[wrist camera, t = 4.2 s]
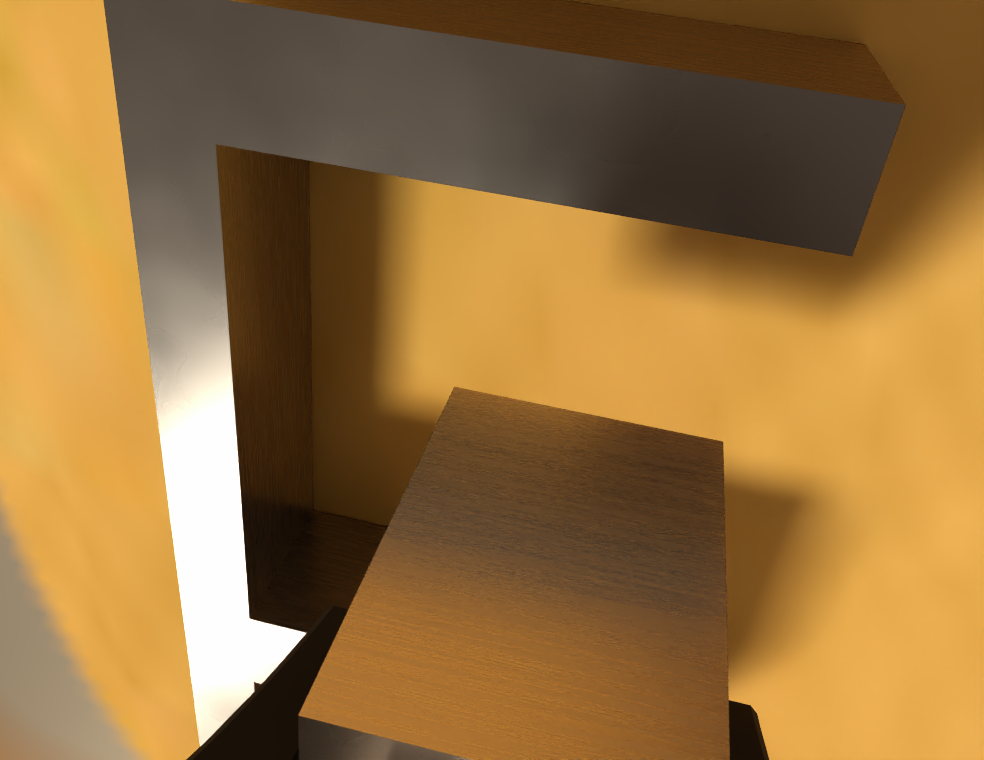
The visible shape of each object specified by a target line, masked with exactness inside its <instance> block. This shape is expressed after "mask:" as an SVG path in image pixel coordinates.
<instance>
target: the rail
mask: <svg viewBox="0 0 984 760" xmlns="http://www.w3.org/2000/svg"><path fill="white" fill-rule="evenodd" d="M104 7H105V15H106V23H107V30H108V38H109V46H110V54H111V61H112V69H113V77H114V85H115V92H116V100H117V108H118V116H119V123H120V131H121V139H122V146H123V154H124V162H125V170H126V177H127V185H128V193H129V201H130V208H131V216H132V224H133V232H134V239H135V247H136V255H137V263H138V270H139V278H140V286H141V294H142V301H143V309H144V317H145V325H146V332H147V340H148V348H149V355H150V363H151V371H152V379H153V386H154V394H155V402H156V410H157V417H158V425H159V433H160V441H161V448H162V456H163V464H164V472H165V479H166V487H167V495H168V503H169V510H170V518H171V526H172V534H173V541H174V549H175V557H176V564H177V572H178V580H179V588H180V595H181V603H182V611H183V619H184V626H185V634H186V642H187V650H188V657H189V665H190V673H191V681H192V688H193V696H194V704H195V712H196V719H197V727H198V735H199V743H200V746H201V745H202V744H203V743H205V742H206V741H207V740H208V739H209V738H210V737H211V736H212V735H213V734H214V733H215V732H216V730H217V729H218V728H219V727H220V726H221V725H222V724H223V723H224V722H225V721H226V720H227V719H228V718H229V717H230V716H231V715H232V714H233V713H234V712H235V711H236V710H237V709H238V708H239V707H240V706H241V705H242V704H243V703H244V702H245V701H246V700H247V699H248V698H249V697H250V696H251V695H252V693H253V692H254V691H255V690H256V689H257V688H258V687H259V686H260V685H261V684H262V683H263V682H264V681H265V679H266V678H267V677H268V676H269V675H270V674H271V673H272V672H273V671H274V670H275V668H276V667H277V666H278V665H279V664H280V663H281V662H282V661H283V660H284V658H285V657H286V656H287V655H288V654H289V653H290V652H291V650H292V649H293V648H294V647H295V646H296V645H297V643H298V642H299V641H300V640H301V639H302V637H303V636H304V635H305V634H306V633H307V632H308V630H309V629H310V628H311V627H312V625H313V624H314V623H315V622H316V620H317V619H318V618H319V617H320V615H321V614H322V613H323V612H324V610H326V609H328V608H330V607H332V606H337V607H341V608H345V609H349V607H350V605H351V603H352V601H353V599H354V597H355V595H356V593H357V591H358V588H359V586H360V584H361V582H362V580H363V578H364V576H365V574H366V572H367V570H368V567H369V565H370V563H371V561H372V559H373V557H374V555H375V553H376V551H377V549H378V546H379V544H380V542H381V540H382V538H383V536H384V534H385V532H386V530H387V527H385V526H380V525H376V524H372V523H367V522H363V521H358V520H354V519H350V518H345V517H341V516H336V515H332V514H328V513H323V512H319V511H314V510H313V456H312V375H311V295H310V215H309V161H314V162H320V163H325V164H331V165H337V166H342V167H348V168H354V169H359V170H365V171H371V172H377V173H382V174H388V175H394V176H399V177H405V178H411V179H416V180H422V181H428V182H433V183H439V184H445V185H450V186H456V187H462V188H467V189H473V190H479V191H484V192H490V193H496V194H501V195H507V196H513V197H518V198H524V199H530V200H535V201H541V202H547V203H552V204H558V205H564V206H570V207H575V208H581V209H587V210H592V211H598V212H604V213H609V214H615V215H621V216H626V217H632V218H638V219H643V220H649V221H655V222H660V223H666V224H672V225H677V226H683V227H689V228H694V229H700V230H706V231H711V232H717V233H723V234H728V235H734V236H740V237H745V238H751V239H757V240H763V241H768V242H774V243H780V244H785V245H791V246H797V247H802V248H808V249H814V250H819V251H825V252H831V253H836V254H842V255H848V256H853V253H854V250H855V247H856V244H857V241H858V239H859V236H860V233H861V230H862V227H863V224H864V222H865V219H866V216H867V213H868V210H869V207H870V205H871V202H872V199H873V196H874V193H875V190H876V188H877V185H878V182H879V179H880V176H881V173H882V171H883V168H884V165H885V162H886V159H887V156H888V154H889V151H890V148H891V145H892V142H893V139H894V137H895V134H896V131H897V128H898V125H899V122H900V120H901V117H902V114H903V111H904V108H905V103H904V102H903V100H902V99H901V97H900V96H899V94H898V93H897V91H896V90H895V88H894V87H893V85H892V84H891V82H890V81H889V79H888V78H887V76H886V75H885V73H884V72H883V70H882V69H881V67H880V66H879V64H878V63H877V61H876V60H875V58H874V57H873V55H872V54H871V52H870V51H869V49H868V48H867V46H866V45H864V44H857V43H850V42H844V41H837V40H830V39H823V38H816V37H810V36H803V35H796V34H789V33H782V32H776V31H769V30H762V29H755V28H749V27H742V26H735V25H728V24H721V23H715V22H708V21H701V20H694V19H688V18H681V17H674V16H667V15H660V14H654V13H647V12H640V11H633V10H627V9H620V8H613V7H606V6H599V5H593V4H586V3H579V2H572V1H565V0H104Z"/></svg>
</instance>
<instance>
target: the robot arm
mask: <svg viewBox="0 0 984 760" xmlns="http://www.w3.org/2000/svg"><path fill="white" fill-rule="evenodd" d="M348 610H349V609H345V608H341V607H337V606H332V607H330V608H328V609H326V610H324V612H323V613H322V614H321V615H320V617H319V618H318V619H317V620H316V622H315V623H314V624H313V625H312V627H311V628H310V629H309V630H308V632H307V633H306V634H305V635H304V636H303V637H302V639H301V640H300V641H299V642H298V643H297V645H296V646H295V647H294V648H293V649H292V650H291V652H290V653H289V654H288V655H287V656H286V657H285V658H284V660H283V661H282V662H281V663H280V664H279V665H278V666H277V667H276V668H275V670H274V671H273V672H272V673H271V674H270V675H269V676H268V677H267V678H266V679H265V681H264V682H263V683H262V684H261V685H260V686H259V687H258V688H257V689H256V690H255V691H254V692H253V693H252V695H251V696H250V697H249V698H248V699H247V700H246V701H245V702H244V703H243V704H242V705H241V706H240V707H239V708H238V709H237V710H236V711H235V712H234V713H233V714H232V715H231V716H230V717H229V718H228V719H227V720H226V721H225V722H224V723H223V724H222V725H221V726H220V727H219V728H218V729H217V730H216V732H215V733H214V734H213V735H212V736H211V737H210V738H209V739H208V740H207V741H206V742H205V743H203V744H202V745H201V746H200V747H199V748H198V749H197V750H196V751H195V752H194V753H193V754H192V755H191V756H190V757H189V758H188V759H187V760H299V732H298V715H299V713H300V711H301V708H302V706H303V704H304V702H305V700H306V698H307V696H308V694H309V692H310V690H311V687H312V685H313V683H314V681H315V679H316V677H317V675H318V673H319V671H320V668H321V666H322V664H323V662H324V660H325V658H326V656H327V654H328V652H329V650H330V647H331V645H332V643H333V641H334V639H335V637H336V635H337V633H338V631H339V628H340V626H341V624H342V622H343V620H344V618H345V616H346V614H347V612H348ZM729 745H730V760H769V757H768V754H767V750H766V746H765V743H764V739H763V736H762V732H761V728H760V724H759V720H758V716H757V713H756V712H755V711H754V709H753V708H752V707H751V705H746V704H742V703H738V702H734V701H730V700H729Z"/></svg>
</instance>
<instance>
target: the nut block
mask: <svg viewBox="0 0 984 760" xmlns="http://www.w3.org/2000/svg"><path fill="white" fill-rule="evenodd" d="M298 732H299V760H730V745H729V696H728V648H727V600H726V551H725V503H724V455H723V442H722V441H718V440H713V439H708V438H703V437H698V436H693V435H688V434H683V433H678V432H673V431H668V430H664V429H659V428H654V427H649V426H644V425H639V424H634V423H629V422H624V421H619V420H615V419H610V418H605V417H600V416H595V415H590V414H585V413H580V412H575V411H570V410H566V409H561V408H556V407H551V406H546V405H541V404H536V403H531V402H526V401H521V400H516V399H512V398H507V397H502V396H497V395H492V394H487V393H482V392H477V391H472V390H467V389H463V388H458V387H454V389H453V391H452V393H451V395H450V397H449V399H448V401H447V403H446V405H445V408H444V410H443V412H442V414H441V416H440V418H439V420H438V422H437V424H436V426H435V429H434V431H433V433H432V435H431V437H430V439H429V441H428V443H427V445H426V447H425V450H424V452H423V454H422V456H421V458H420V460H419V462H418V464H417V466H416V469H415V471H414V473H413V475H412V477H411V479H410V481H409V483H408V485H407V487H406V490H405V492H404V494H403V496H402V498H401V500H400V502H399V504H398V506H397V509H396V511H395V513H394V515H393V517H392V519H391V521H390V523H389V525H388V527H387V530H386V532H385V534H384V536H383V538H382V540H381V542H380V544H379V546H378V549H377V551H376V553H375V555H374V557H373V559H372V561H371V563H370V565H369V567H368V570H367V572H366V574H365V576H364V578H363V580H362V582H361V584H360V586H359V588H358V591H357V593H356V595H355V597H354V599H353V601H352V603H351V605H350V607H349V610H348V612H347V614H346V616H345V618H344V620H343V622H342V624H341V626H340V628H339V631H338V633H337V635H336V637H335V639H334V641H333V643H332V645H331V647H330V650H329V652H328V654H327V656H326V658H325V660H324V662H323V664H322V666H321V668H320V671H319V673H318V675H317V677H316V679H315V681H314V683H313V685H312V687H311V690H310V692H309V694H308V696H307V698H306V700H305V702H304V704H303V706H302V708H301V711H300V713H299V715H298Z"/></svg>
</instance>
